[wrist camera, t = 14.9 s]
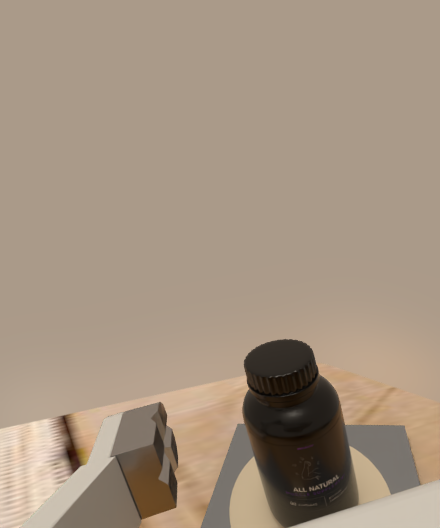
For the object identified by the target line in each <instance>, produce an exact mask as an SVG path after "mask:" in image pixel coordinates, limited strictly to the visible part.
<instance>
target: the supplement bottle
mask: <svg viewBox="0 0 440 528" xmlns="http://www.w3.org/2000/svg"><path fill="white" fill-rule="evenodd" d="M244 368H245V372H246V376H247V384H248V387H249V390H248V392H247V394H246V396H245V398H244V402H243V407H242V413H243V418H244V423H245V426H246V430H247V433H248V437H249V440H250V444H251V447H252V451H253V454H254V458H255V461H256V465H257V468H258V472H259V475H260V478H261V482H262V485H263V489H264V492H265V496H266V499H267V502H268V505H269V508H270V510H271V512H272V514H273V516H274V517H275V518H276V520H277V521H278V522H279V523H280V524H281V525H282V526H283V527H284V528H289V527H292V526H295V525H298V524H301V523H304V522H307V521H311V520H314V519H317V518H320V517H323V516H326V515H330V514H333V513H336V512H339V511H342V510H345V509H348V508H351V507H355V506H358V502H359V493H358V486H357V481H356V476H355V471H354V466H353V461H352V456H351V452H350V447H349V442H348V437H347V433H346V428H345V423H344V418H343V414H342V409H341V404H340V401H339V397H338V394H337V392H336V390H335V389H334V387H333V386H332V385H331V384H330V383H329V382H328V381H327V380H326V379H325V378H324V377H322V376H321V375H319V371H318V367H317V365H316V362H315V357H314V354H313V351H312V349H311V348H310V346H308V345H307V344H306V343H303V342H302V341H298V340H292V339H289V340H287V339H284V340H277V341H271V342H267V343H265V344H262V345H260V346H258V347H256V348H255V349H253V350H252V351H251V352H250V353H249V354H248V355H247V357H246V359H245V360H244Z"/></svg>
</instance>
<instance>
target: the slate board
mask: <svg viewBox="0 0 440 528" xmlns="http://www.w3.org/2000/svg"><path fill="white" fill-rule="evenodd" d="M345 428H346V433H347V437H348V442H349V447H350V452H351V456H352V461H353V466H354V471H355V476H356V481H357V486H358V493H359V502H358V505H361V504H364V503H367V502H370V501H373V500H376V499H380V498H383V497H386V496H389V495H392V494H395V493H398V492H401V491H405V490H408V489H411V488H414V487H417V486H420V482H419V479H418V475H417V471H416V467H415V464H414V460H413V456H412V453H411V449H410V445H409V441H408V438H407V434H406V430H405V426H394V425H345ZM201 528H284V527H283V526H282V525H281V524H280V523H279V522H278V521H277V520H276V518H275V517H274V516H273V514H272V512H271V510H270V508H269V505H268V502H267V499H266V496H265V492H264V489H263V485H262V482H261V478H260V475H259V472H258V468H257V465H256V461H255V458H254V454H253V451H252V447H251V444H250V440H249V437H248V433H247V430H246V426H245V424H238V425H237V428H236V430H235V433H234V436H233V439H232V442H231V444H230V447H229V450H228V453H227V455H226V458H225V461H224V464H223V467H222V469H221V472H220V475H219V478H218V481H217V483H216V486H215V489H214V492H213V495H212V497H211V500H210V503H209V506H208V508H207V511H206V514H205V517H204V520H203V522H202V525H201Z"/></svg>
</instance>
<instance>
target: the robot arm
mask: <svg viewBox="0 0 440 528" xmlns="http://www.w3.org/2000/svg"><path fill="white" fill-rule="evenodd" d="M166 422H167V414H166V411H165V408H164V406H163V404H162V403H161V402H158V403H155V404H151V405H147V406H144V407H140V408H136V409H133V410H129V411H125V412H121V413H118V414H115V415H111V416H108V417H106V418H105V419H104V420H103V423H102V425H101V428H100V431H99V433H98V436H97V439H96V441H95V444H94V447H93V449H92V452H91V455H90V457H89V460H88V462H87V465H84V466H81V467H80V468H79V469H78V470H77V471H76V472H75V473H74V474H73V475H72V476H71V477H70V478H69V479H68V480H67V481H66V482H65V483H64V484H63V485H62V486H61V487H60V488H59V489H58V490H57V491H56V492H55V493H54V494H53V495H52V496H51V497H50V498H49V499H48V500H47V501H46V502H45V503H44V504H43V505H42V506H41V507H40V508H39V509H38V510H37V511H36V512H35V513H34V514H33V515H32V516H31V517H30V518H29V519H28V520H27V521H26V522H25V523H24V524H23V525H22V526H21V527H20V528H139V526H140V524H141V520H142V519H145V518H147V517H150V516H153V515H156V514H159V513H162V512H165V511H168V510H171V509H174V508H176V503H177V480H176V477H175V474H174V472H175V471H176V469H177V468H178V454H177V446H176V441H175V437H174V434H173V431H172V429H171V428H170V427H168V426H167V425H166ZM289 528H440V479H439V480H436V481H433V482H430V483H427V484H423V485H420V486H417V487H414V488H411V489H408V490H405V491H401V492H398V493H395V494H392V495H389V496H386V497H383V498H380V499H376V500H373V501H370V502H367V503H364V504H361V505H358V506H355V507H351V508H348V509H345V510H342V511H339V512H336V513H333V514H330V515H326V516H323V517H320V518H317V519H314V520H311V521H307V522H304V523H301V524H298V525H295V526H292V527H289Z"/></svg>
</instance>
